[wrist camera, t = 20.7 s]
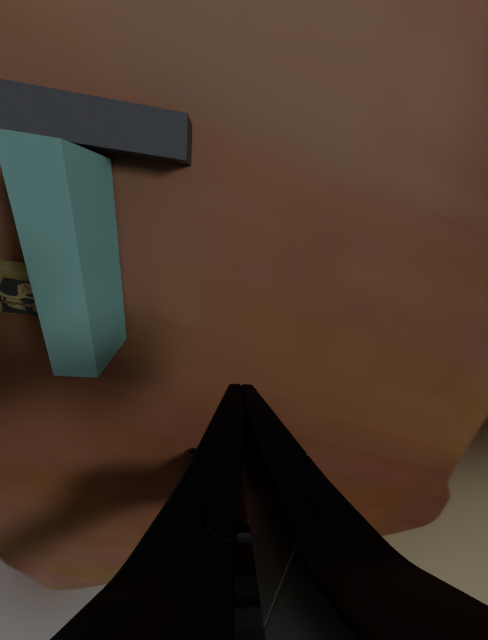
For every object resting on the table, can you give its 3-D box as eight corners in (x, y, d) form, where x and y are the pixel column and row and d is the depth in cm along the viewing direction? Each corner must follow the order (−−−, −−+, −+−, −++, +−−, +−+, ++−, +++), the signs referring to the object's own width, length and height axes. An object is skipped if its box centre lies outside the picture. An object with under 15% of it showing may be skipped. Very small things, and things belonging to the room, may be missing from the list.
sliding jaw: (126, 338, 19) (98, 377, 15) (92, 336, 19) (53, 375, 14) (110, 159, 14) (60, 138, 10) (64, 151, 14) (-9, 127, 9)
